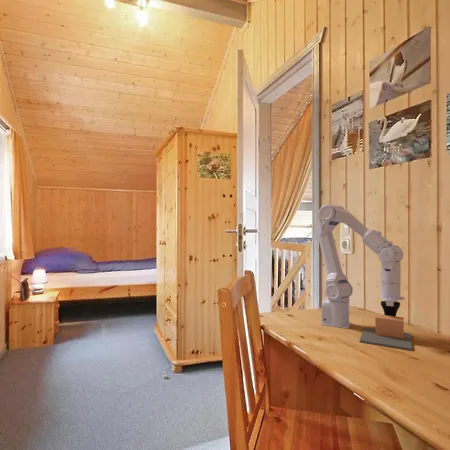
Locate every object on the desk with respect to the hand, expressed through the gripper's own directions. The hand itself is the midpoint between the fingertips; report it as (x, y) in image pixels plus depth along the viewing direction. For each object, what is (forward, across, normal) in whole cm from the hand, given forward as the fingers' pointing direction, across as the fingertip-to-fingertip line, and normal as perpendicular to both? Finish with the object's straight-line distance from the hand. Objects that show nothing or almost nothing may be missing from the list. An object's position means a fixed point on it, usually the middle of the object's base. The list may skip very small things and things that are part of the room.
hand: (390, 324), depth 107 cm
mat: (+4, -3, +1) cm, 5 cm away
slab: (+3, -1, 0) cm, 3 cm away
